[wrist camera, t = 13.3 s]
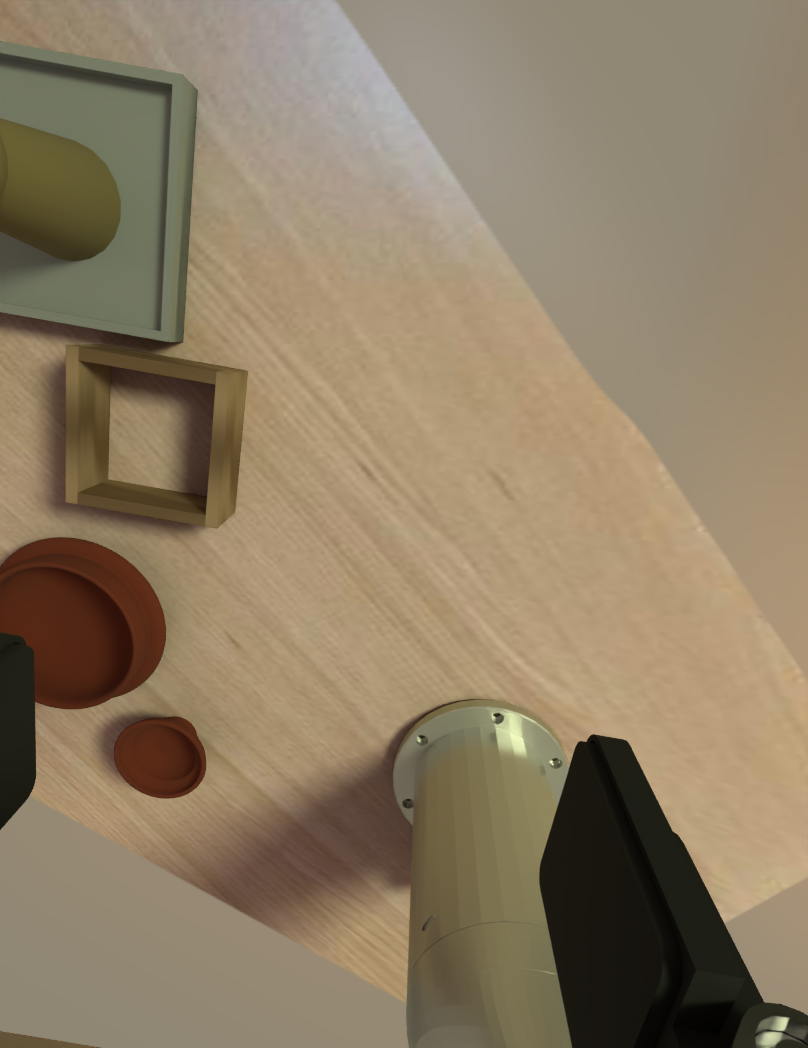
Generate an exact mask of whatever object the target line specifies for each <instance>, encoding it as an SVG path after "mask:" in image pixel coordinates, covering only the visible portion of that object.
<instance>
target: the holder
mask: <svg viewBox="0 0 808 1048" xmlns="http://www.w3.org/2000/svg"><path fill="white" fill-rule="evenodd" d="M111 366H114V367H119V368H125V369H131V370H136V371H142V372H148V373H153V374H159V375H164V376H170V377H176V378H181V379H187V380H193V381H198V382H204V383H210V384H215V385H216V386H215V399H214V412H213V426H212V439H211V452H210V466H209V479H208V492H207V497H204V496H199V495H193V494H187V493H181V492H176V491H170V490H164V489H159V488H153V487H147V486H141V485H136V484H130V483H124V482H119V481H113V480H108V460H109V418H110V376H111ZM247 374H248V371H246V370H240V369H235V368H229V367H223V366H218V365H212V364H207V363H201V362H195V361H190V360H184V359H178V358H173V357H167V356H162V355H156V354H150V353H145V352H139V351H133V350H128V349H122V348H117V347H111V346H105V345H66V502H67V503H73V504H79V505H85V506H90V507H96V508H102V509H108V510H113V511H119V512H125V513H130V514H136V515H142V516H148V517H153V518H159V519H165V520H170V521H176V522H182V523H188V524H193V525H199V526H205V527H211V528H216V529H217V528H218V527H219V526H220V525H221V524H222V523H224V522H225V521H226V520H227V519H228V518H229V517H230V516H231V515H233V514H234V513H235V507H236V496H237V485H238V474H239V463H240V452H241V441H242V429H243V418H244V407H245V396H246V385H247Z"/></svg>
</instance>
